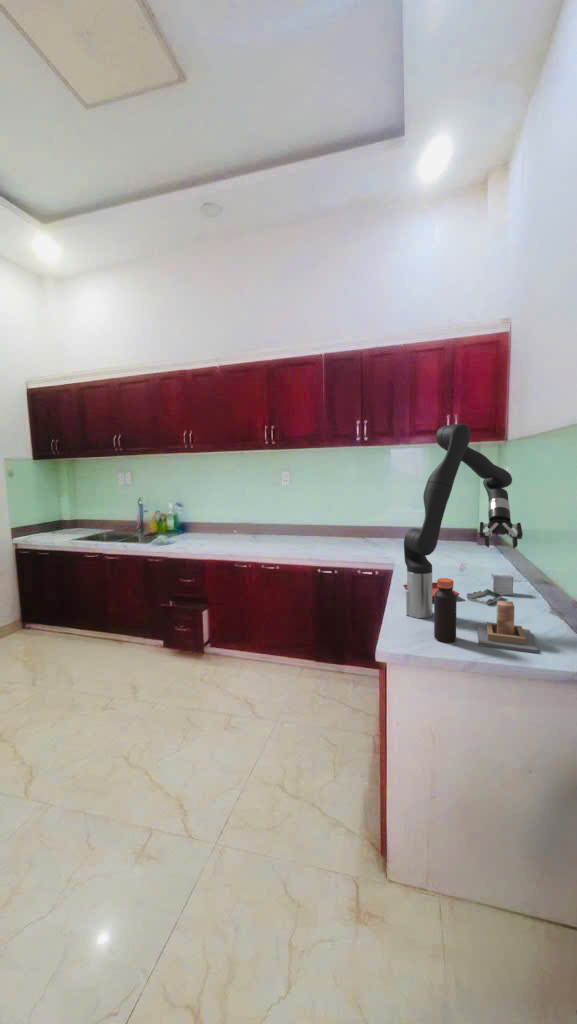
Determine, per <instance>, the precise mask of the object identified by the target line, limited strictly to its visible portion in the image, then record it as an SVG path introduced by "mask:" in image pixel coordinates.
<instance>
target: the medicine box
mask: <svg viewBox="0 0 577 1024" xmlns="http://www.w3.org/2000/svg"><path fill="white" fill-rule="evenodd" d="M490 576H491V577H490V579H491V581H490V583H491V584H490V590H491V591H492V592H495V593H498V594H503V595H502V596H513V595H514V575H512V574H511V573H495V572H494V573H491V575H490Z"/></svg>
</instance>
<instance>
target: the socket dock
mask: <svg viewBox="0 0 577 1024" xmlns="http://www.w3.org/2000/svg"><path fill="white" fill-rule="evenodd" d="M476 628H477V629H476V631H477V640H478V647H479V646H480V647H488V648H495V649H503V650H510V651H517V652H524V653H532V654H538V652H539V649H538V647H537V644H536V642H535V639H534V637H533V635H532V632H531V630H530V629H525V628H524V629H523V626H522V625H515V624H514V635H505V634H497V622H488V621H487V622H486V624H482V623H477V624H476Z"/></svg>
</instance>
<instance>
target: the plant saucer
mask: <svg viewBox="0 0 577 1024" xmlns="http://www.w3.org/2000/svg"><path fill="white" fill-rule="evenodd" d="M402 586H403V588H404V589H405V590H406V591H407V584H402ZM437 591H438V586H437V582H432V602H434V594H435V593H436V592H437ZM452 591H453V592H454V593H455V594H456V597H458V596H459V595H460V594H461V593H459V592H458V591H456V590H455V589H452Z"/></svg>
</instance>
